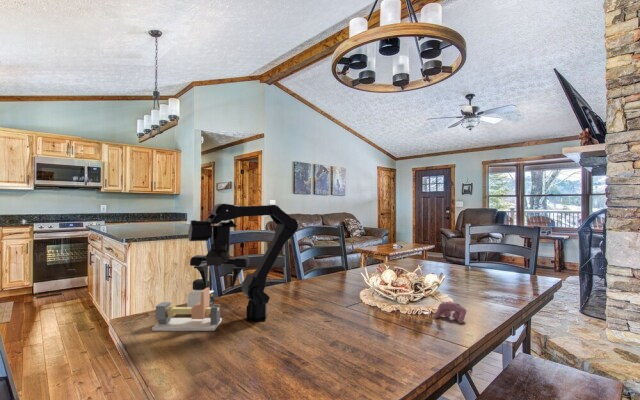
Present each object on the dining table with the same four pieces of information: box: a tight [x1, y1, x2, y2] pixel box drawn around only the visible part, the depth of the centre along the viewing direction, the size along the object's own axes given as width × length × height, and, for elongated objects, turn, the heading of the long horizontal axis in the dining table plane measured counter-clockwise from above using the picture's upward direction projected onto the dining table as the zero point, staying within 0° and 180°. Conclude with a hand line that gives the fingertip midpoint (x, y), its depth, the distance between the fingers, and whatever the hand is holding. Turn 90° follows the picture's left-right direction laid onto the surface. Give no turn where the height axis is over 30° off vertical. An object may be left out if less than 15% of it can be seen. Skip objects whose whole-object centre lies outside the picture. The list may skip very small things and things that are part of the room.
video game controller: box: [435, 301, 467, 324], centre depth 120 cm, size 10×5×7 cm, turn 47°
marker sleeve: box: [190, 287, 211, 319], centre depth 112 cm, size 4×6×9 cm, turn 1°
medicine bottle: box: [186, 278, 215, 307], centre depth 127 cm, size 7×7×12 cm
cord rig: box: [151, 301, 223, 332], centre depth 112 cm, size 20×9×7 cm, turn 91°
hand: (219, 286), depth 112 cm, fingers open, 9 cm apart
